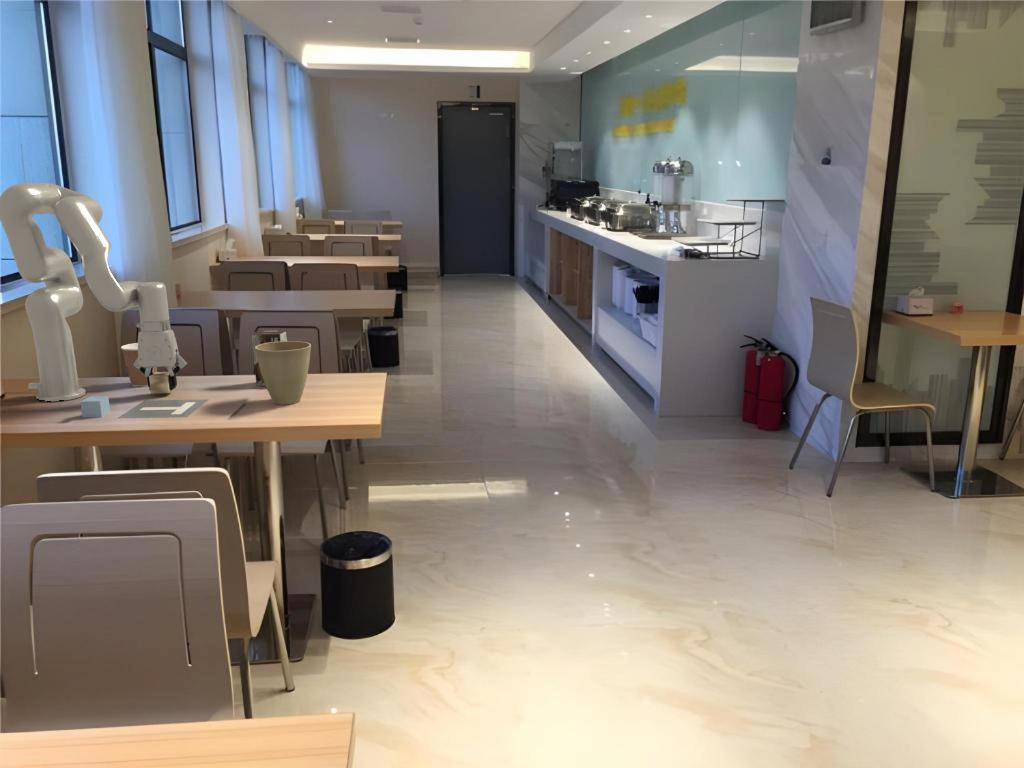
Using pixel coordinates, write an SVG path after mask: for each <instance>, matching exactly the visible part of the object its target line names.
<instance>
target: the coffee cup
mask: <svg viewBox="0 0 1024 768" xmlns="http://www.w3.org/2000/svg"><path fill="white" fill-rule="evenodd" d="M120 349H121V350H122V354H123V359H124V361H125V367H126V372H127V374H128V377H129V382H130V384H131V386H132V387H135V386H144V387H148V386H147V385H148V382H147V377H146V376H145V374H144V373H142V372H141V371H140V370H139V369H138V368H136V367H135V366H134V365H133V364H134V362H135V361H136V360H137V358H138V342H134V343H128V344H124V345H122V346H120ZM155 372H158V367H154V369H153V374H154V373H155Z"/></svg>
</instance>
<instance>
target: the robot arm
mask: <svg viewBox="0 0 1024 768" xmlns="http://www.w3.org/2000/svg"><path fill="white" fill-rule="evenodd" d="M46 214H50V215H54V216H55V219H56V220H57V222H58V223H59V225H60V226H61V228H62V229H63V231H64V233H65V234H66V235H67V237H68V238H69V240H70V242H71V243H72V245H73V246H74V248H75V249H76V251H77V252H78V254H79V256H80V257H81V260H82V261H81V264H82V269H83V274H84V277H85V281H86V283H87V285H88V287H89V289H90V291H91V292H92V294H93V295H94V297H95V298H96V300H97V301H98V303H99V304H100V305H101V306H102V307H103V308H105V310H107V311H110V312H113V313H119V312H123V311H126V310H129V309H133V308H138V310H139V311H138V312H139V319H140V321H139V322H136V323H135V327H136V328H139V329H140V331H139V332H138V336H137V343H138V358H137V360H136V361H135V362H134V364H133V365H134V366H135V367H136V368H138V369H139V370H140V371H141V372H142V373H144V374H145V376H146V377H147V382H148V386H147V387H149V391H151V389H150V380H149V376H150V375H152V374H153V369H154V367H157V368H166V369H167V372H169V374H170V376H169V387H170V390H173V389H174V390H176V388H177V385H178V381H177V374H178V373H179V372H180V371H181V369H183V368H184V367H185V366H186V365H188V362H187V361H186V360H185V359H184V358H183V357H182V356H181V354H180V352H179V348H178V344H177V338H176V336H175V332H174V330H173V329H171V321H170V313H169V303H168V295H167V294H168V293H167V287H166V285H165V283H163V282H161V281H160V282H159V281H146V282H142V281H135V280H133V281H132V280H125V281H121V282H117V280H116V278H115V277H114V275H113V273H112V272H111V270H110V266H109V263H108V257H109V253H110V250H111V248H112V243H111V241H110V239H109V238H108V237H107V234H106V233H105V232H104V230H103V229H102V227H101V225H100V224H99V223H100V222H101V221H102V219H103V209H102V206H101V204H100V203H99V202H98V201H97V200H96V199H95V198H94V197H91V196H89V195H87V194H83V193H81V192H78V191H74V190H72V189H69V188H66V187H64V186H60V185H58V184H54V183H51V182H21V183H16V184H13V185H11V186H9V187H8V188H6V189H5V190H4V191H3V192H2V193H1V194H0V223H1V226H2V228H3V230H4V233H5V236H6V238H7V240H8V244H9V248H10V250H11V252H12V256H13V260H14V262H15V264H16V267H17V270H18V273H19V275H20V277H21V278H22V279H23V280H24V281H26V282H28V283H31V284H40V283H41V284H42V283H44V284H45V286H44V287H43V286H42V287H39V288H37V289H34V290H33V291H31V292H30V293H29V294H28V296H27V298H26V300H25V305H24V306H25V311H26V315H27V317H28V321H29V324H30V326H31V332H32V334H33V335H32V338H33V343H34V349H35V353H36V355H35V356H36V362H37V367H38V368H37V369H38V374H39V382H38V383H37V382H29V383H28V385H27V389H28V391H31V392H32V391H36V392H37V394H36V395H35V397H36V400H37V399H39V400H45V401H44V402H47V401H51V402H60V401H59V400H64V401H70V400H74V399H79V398H82V397H83V396H85V395H86V392H87V391H86V389H85V388H82V387H80V385H79V378H78V377H79V376H78V372H77V369H78V368H77V363H76V356H75V349H74V341H73V336H72V331H71V328H70V326H69V324H68V322H67V319H66V318H68V317H71V316H74V315H76V314H77V313H79V312H80V311H81V310H82V308H83V305H84V296H83V291H82V289H81V286H80V282H79V279H78V276H77V273H76V271H75V268H74V264H73V262H72V261H71V258H70V257H69V255H68V254H67V253H66V252H65V251H64V250H62V249H61V248H59V247H55V246H47V244H46V242H45V239H44V235H43V232H42V230H41V229H40V227H39V225H38V224H37V223H36V221H35V220H34V218H33V216H34V215H46ZM175 364H178V365H175ZM174 390H173V391H174ZM39 400H38V401H39Z"/></svg>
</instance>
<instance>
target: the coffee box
mask: <svg viewBox="0 0 1024 768" xmlns="http://www.w3.org/2000/svg"><path fill="white" fill-rule="evenodd" d="M280 341H289V336H288V330H286V329H285V330H279V329H277V330H275V329H273V330H271V329H267V330H265V329H263V330H260V329H259V330H257V331H255V332H254V333H251V343H252V353H253V365H254V372H255V373H254V374H255V385H257V386H256V387H266V385H265V382H264V379H263V376H262V373H261V370H260V366H259V363H258V358H257V354H256V349H255V347H256V346H257V345H260V344H264V343H270V342H280Z"/></svg>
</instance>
